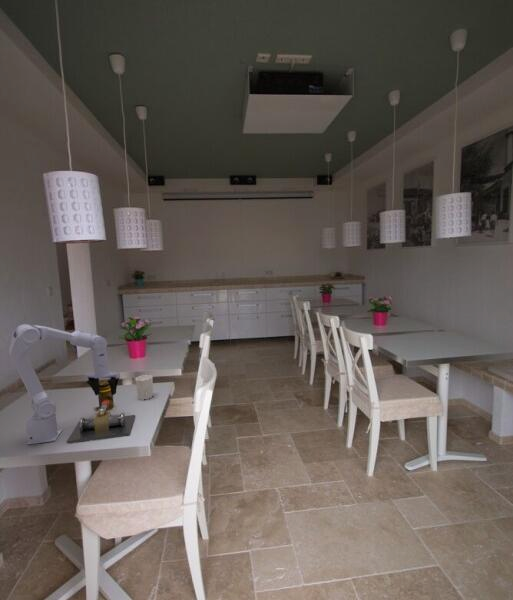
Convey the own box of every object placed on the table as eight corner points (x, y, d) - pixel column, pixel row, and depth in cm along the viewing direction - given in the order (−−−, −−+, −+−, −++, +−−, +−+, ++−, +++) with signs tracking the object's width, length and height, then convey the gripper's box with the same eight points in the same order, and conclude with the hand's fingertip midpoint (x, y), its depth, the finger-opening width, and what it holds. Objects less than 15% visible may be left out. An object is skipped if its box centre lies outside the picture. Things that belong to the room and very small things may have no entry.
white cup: (157, 396, 170) (156, 376, 169) (144, 402, 164) (142, 381, 162) (146, 393, 174) (145, 373, 173) (133, 398, 168) (131, 378, 166)
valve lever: (104, 413, 136) (104, 409, 136) (97, 414, 136) (97, 410, 136) (109, 403, 146) (109, 400, 146) (103, 404, 145) (103, 400, 145)
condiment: (116, 409, 157) (113, 383, 156) (95, 414, 152) (93, 387, 151) (112, 403, 163) (110, 378, 162) (93, 408, 159) (90, 383, 157)
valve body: (66, 443, 128) (64, 425, 127) (79, 423, 144) (77, 407, 143) (129, 435, 133) (128, 418, 132) (135, 417, 148) (134, 401, 147)
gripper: (121, 359, 148) (126, 389, 151) (90, 360, 151) (95, 390, 153) (112, 365, 141) (117, 397, 144) (80, 366, 144) (85, 397, 146)
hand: (105, 394), depth 148 cm, fingers open, 7 cm apart
